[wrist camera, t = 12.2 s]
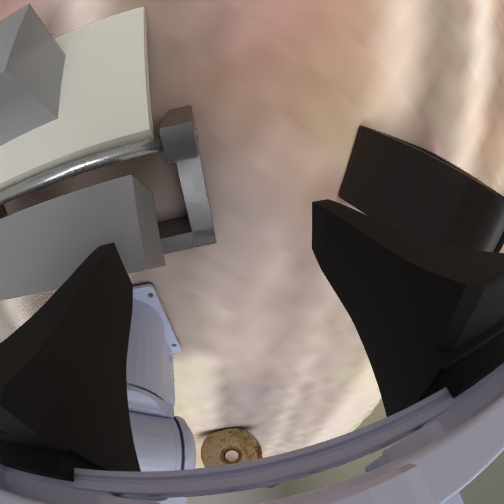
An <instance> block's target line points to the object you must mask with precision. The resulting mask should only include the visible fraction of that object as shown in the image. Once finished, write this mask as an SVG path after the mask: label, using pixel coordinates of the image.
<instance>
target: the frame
mask: <svg viewBox="0 0 504 504" xmlns="http://www.w3.org/2000/svg"><path fill="white" fill-rule="evenodd" d="M159 132H160V136H157V137H153V138H149V139H145V140H141V141H137V142H133V143H130V144H126V145H123V146H119V147H116V148H112V149H109V150H106V151H103V152H99V153H96V154H93V155H90V156H87V157H84V158H81V159H78V160H76V161H73V162H70V163H67V164H64V165H62V166H59V167H57V168H54V169H51V170H49V171H46V172H44V173H41V174H39V175H36V176H34V177H32V178H29V179H27V180H25V181H22V182H20V183H18V184H16V185H14V186H11V187H9V188H7V189H5V190H3V191H1V192H0V219H2V218H4V217H6V216H8V215H7V213H6V211H5V208H4V206H3V204H4V203H7V202H9V201H11V200H13V199H16V198H18V197H20V196H23V195H25V194H28V193H30V192H33V191H35V190H38V189H40V188H43V187H45V186H48V185H51V184H53V183H56V182H59V181H61V180H64V179H67V178H70V177H73V176H76V175H79V174H82V173H85V172H88V171H91V170H94V169H97V168H100V167H104V166H107V165H110V164H114V163H117V162H121V161H124V160H128V159H132V158H135V157H139V156H143V155H147V154H151V153H155V152H159V151H164V155H165V160H166V164H169V163H173V162H176V164H177V169H178V173H179V178H180V182H181V187H182V191H183V196H184V200H185V204H186V208H187V212H188V216H186V217H181V218H176V219H172V220H167V221H163V222H158V229H159V235H160V240H161V245H162V251H163V254H166V253H171V252H175V251H180V250H185V249H190V248H194V247H199V246H204V245H209V244H214V243H216V238H215V232H214V227H213V222H212V217H211V212H210V207H209V202H208V196H207V191H206V186H205V181H204V175H203V170H202V165H201V159H200V154H199V148H198V137H197V131H196V128H195V125H194V119H193V113H192V107H191V106H188V107H183V108H178V109H173V110H169V112H168V114H167V115H166V117H165V119H164V121H163V122H162V124H161V126H160V128H159Z"/></svg>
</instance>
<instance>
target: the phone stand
mask: <svg viewBox="0 0 504 504" xmlns="http://www.w3.org/2000/svg"><path fill="white" fill-rule="evenodd" d="M339 197H340V198H341V199H343V200H345V201H346V202H348V203H349V204H351V205H352V206H354V207H356V208H357V209H359V210H360V211H362V212H363V213H365V214H366V215H368V216H369V217H372V218H374V219H376V220H379V221H381V222H383V223H386V224H388V225H391V226H393V227H396V228H398V229H401V230H403V231H406V232H409V233H412V234H415V235H418V236H421V237H424V238H427V239H431V240H434V241H438V242H442V243H446V244H449V245H454V246H458V247H463V248H468V249H474V250H480V251H487V252H497V253H499V252H500V250H501V248H502V246H503V244H504V197H503V196H502V195H500V194H499V193H497V192H496V191H494V190H493V189H492V188H490V187H489V186H487V185H486V184H484V183H483V182H481V181H480V180H478V179H477V178H475V177H473V176H472V175H470V174H469V173H467V172H465V171H464V170H462V169H461V168H459V167H457V166H456V165H454V164H452V163H450V162H449V161H447V160H445V159H444V158H442V157H440V156H438V155H436V154H434V153H432V152H430V151H428V150H425V149H423V148H421V147H418V146H416V145H413V144H411V143H408V142H406V141H403V140H401V139H398V138H396V137H393V136H390V135H388V134H385V133H382V132H379V131H376V130H373V129H371V128H368V127H365V126H361V127H360V131H359V134H358V137H357V141H356V144H355V148H354V151H353V154H352V157H351V161H350V164H349V167H348V170H347V173H346V177H345V180H344V183H343V186H342V189H341V192H340V195H339Z"/></svg>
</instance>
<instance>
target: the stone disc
mask: <svg viewBox="0 0 504 504" xmlns="http://www.w3.org/2000/svg"><path fill="white" fill-rule="evenodd" d="M230 450H234V451H236V452H237V453H238V454H239V455H238V456H239V457H238V459H237V460H236V461H234V462H229V461H228V460H226V458H225V454H226V452H228V451H230ZM201 458H202V461H203V464H204V466H205V468H206V467H214V466H222V465H228V464H234V463H240V462H246V461H251V460H256V459H261V458H262V450H261V446H260V444H259V442H258V440H257V439H256V438H255V436H254V435H252V434H251V433H249V432H248V431H245V430H243V429H238V428H230V429H225V430H221V431H217V432H214V433H212V434H211V435H209V436H208V437H207V438H206V439H205V441H204V442H203V444H202V447H201Z"/></svg>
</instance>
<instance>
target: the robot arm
mask: <svg viewBox="0 0 504 504" xmlns="http://www.w3.org/2000/svg"><path fill="white" fill-rule="evenodd" d="M312 250H313V252H314V254H315V257H316V259H317V261H318V263H319V265H320V268H321V270H322V271H323V273H324V275H325V276H326V278H327V280H328V281H329V283H330V284H331V286H332V288H333V289H334V291H335V292H336V294H337V296H338V297H339V299H340V300H341V302H342V304H343V305H344V307H345V308H346V310H347V312H348V313H349V315H350V317H351V319H352V321H353V323H354V325H355V327H356V329H357V332H358V334H359V336H360V338H361V341H362V343H363V345H364V348H365V350H366V353H367V355H368V358H369V361H370V363H371V366H372V369H373V372H374V375H375V378H376V380H377V383H378V386H379V390H380V393H381V397H382V400H383V404H384V407H385V411H386V415H387V418H384V419H382V420H380V421H378V422H375V423H373V424H370V425H368V426H366V427H363V428H361V429H358V430H355V431H353V432H350V433H347V434H345V435H342V436H339V437H336V438H333V439H330V440H327V441H324V442H321V443H318V444H315V445H312V446H308V447H305V448H301V449H298V450H294V451H290V452H286V453H283V454H278V455H274V456H270V457H266V458H261V459H256V460H251V461H246V462H240V463H234V464H228V465H222V466H214V467H206V468H197V469H195V465H196V447H195V441H194V437H193V434H192V432H191V430H190V428H189V427H188V425H187V423H186V422H185V420H184V419H183V418H181V417H179V416H174V405H175V388H174V370H173V354H177V353H180V352H181V351H182V348H181V346H180V343H179V341H178V339H177V337H176V335H175V333H174V331H173V329H172V326H171V324H170V322H169V320H168V318H167V315H166V313H165V311H164V309H163V306H162V304H161V302H160V299H159V297H158V295H157V292H156V290H155V288H154V286H153V285H152V284H143V285H138V286H133V285H132V283H131V281H130V278H129V276H128V274H127V272H126V269H125V267H124V265H123V263H122V260H121V258H120V255H119V253H118V251H117V248H116V246H115V243H109V244H105V245H101V246H99V247H98V248H96V249H95V250H94V251H93V252H92V253H91V254H90V255H89V256H88V257H87V258H86V259H85V260H84V261H83V262H82V264H81V265H80V266H79V267H78V268H77V269H76V270H75V271H74V272H73V274H72V275H71V276H70V277H69V278H68V279H67V280H66V281H65V282H64V284H63V285H62V286H61V287H60V288H59V289H58V290H57V291H56V292H55V293H54V294H53V296H52V297H51V298H50V299H49V300H48V301H47V302H46V303H45V304H44V305H43V306H42V307H41V308H40V309H39V310H38V311H37V312H36V313H35V314H34V315H33V316H32V317H31V318H30V319H29V320H28V321H26V322H25V323H24V324H23V325H22V326H21V327H19V328H18V329H17V330H16V331H15V332H14V333H13V334H11V335H10V336H9V337H8V338H7V339H5V340H4V341H3V342H1V343H0V504H185V503H186V501H187V497H193V496H205V495H214V494H222V493H231V492H237V491H243V490H249V489H254V488H260V487H265V486H270V485H274V484H279V483H283V482H287V481H291V480H294V479H298V478H302V477H306V476H309V475H312V474H316V473H319V472H322V471H325V470H328V469H331V468H334V467H337V466H340V465H343V464H345V463H348V462H351V461H353V460H356V459H358V458H361V457H363V456H366V455H368V454H370V453H373V452H375V451H378V450H380V449H382V448H384V447H386V446H389V445H391V444H393V443H395V442H397V441H399V440H401V439H403V438H404V439H403V440H401V441H399V442H398V443H396V444H394V445H392V446H391V447H389V448H387V449H385V450H384V452H383V454H382V456H380V457H379V458H378V459H377V460H375V461H374V462H372V463H370V464H369V465H367V466H366V468H365V471H366V473H364V474H361V475H359V476H356V477H353V478H350V479H347V480H344V481H342V482H339V483H336V484H333V485H329V486H326V487H323V488H320V489H317V490H313V491H310V492H306V493H303V494H299V495H295V496H291V497H287V498H283V499H278V500H274V501H269V502H264V503H259V504H464V503H463V500H462V498H461V496H460V493H459V491H460V490H461V489H462V488H464V487H465V486H466V485H467V484H468V483H469V482H471V481H472V480H473V479H474V478H475V477H476V476H477V475H479V474H480V473H481V472H482V471H483V470H484V469H485V468H486V467H487V466H488V465H489V464H490V463H491V462H492V461H493V460H494V459H495V458H496V457H497V456H498V455H499V454H500V453H501V452H502V451H503V450H504V253H497V252H487V251H480V250H474V249H468V248H463V247H458V246H454V245H449V244H446V243H442V242H438V241H434V240H431V239H427V238H424V237H421V236H418V235H415V234H412V233H409V232H406V231H403V230H401V229H398V228H396V227H393V226H391V225H388V224H386V223H383V222H381V221H379V220H376V219H374V218H372V217H369V216H367V215H365V214H363V213H361V212H358V211H356V210H354V209H352V208H349V207H347V206H345V205H342V204H340V203H337V202H335V201H332V200H328V199H327V200H321V201H315V202H312ZM148 293H152V294H148ZM407 436H408V437H407ZM405 437H406V438H405Z"/></svg>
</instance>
